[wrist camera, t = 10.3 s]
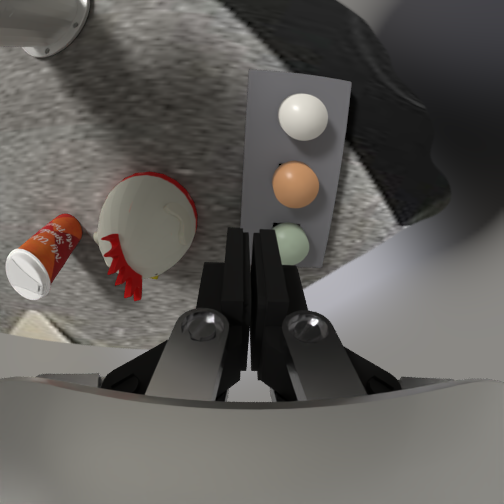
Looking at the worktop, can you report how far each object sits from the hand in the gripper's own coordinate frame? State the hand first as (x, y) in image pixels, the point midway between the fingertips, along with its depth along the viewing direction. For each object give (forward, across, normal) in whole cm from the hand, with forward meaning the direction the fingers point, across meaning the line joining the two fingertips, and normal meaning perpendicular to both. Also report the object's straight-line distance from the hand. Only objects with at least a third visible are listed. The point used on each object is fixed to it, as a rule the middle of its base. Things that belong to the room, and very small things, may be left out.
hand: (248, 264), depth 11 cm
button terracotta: (+28, -6, +5) cm, 29 cm away
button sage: (+28, -6, +13) cm, 31 cm away
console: (+29, -6, +4) cm, 30 cm away
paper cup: (+29, +28, +14) cm, 43 cm away
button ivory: (+28, -6, -4) cm, 29 cm away
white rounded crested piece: (+29, +13, +12) cm, 34 cm away
